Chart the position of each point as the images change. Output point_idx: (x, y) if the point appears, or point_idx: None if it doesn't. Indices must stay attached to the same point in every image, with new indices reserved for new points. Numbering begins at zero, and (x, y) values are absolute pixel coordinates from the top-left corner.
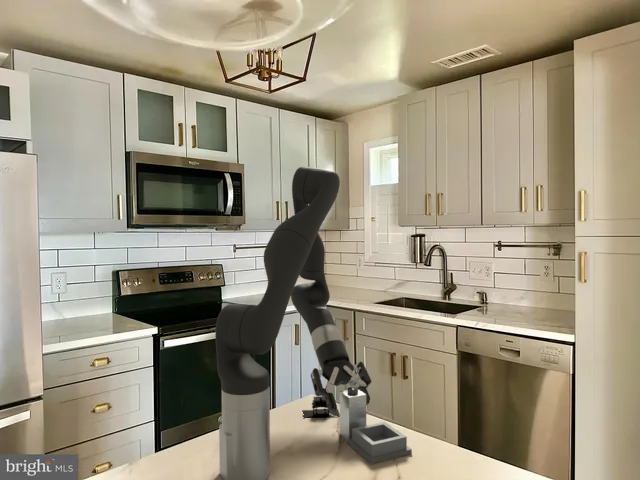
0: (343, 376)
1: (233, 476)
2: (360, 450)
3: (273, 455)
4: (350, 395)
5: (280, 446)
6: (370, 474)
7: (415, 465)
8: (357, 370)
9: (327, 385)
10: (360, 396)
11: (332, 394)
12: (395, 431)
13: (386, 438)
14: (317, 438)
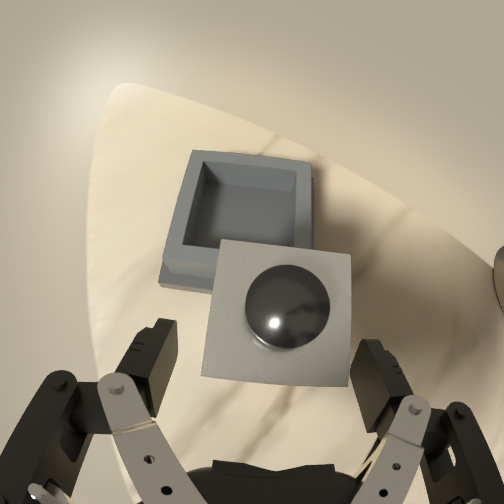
0: (264, 499)
1: None
2: (313, 224)
3: (481, 336)
4: (325, 278)
5: (462, 375)
6: (332, 161)
7: (223, 139)
8: (67, 502)
9: (422, 437)
10: (264, 247)
11: (388, 389)
12: (191, 185)
13: (196, 239)
14: None
